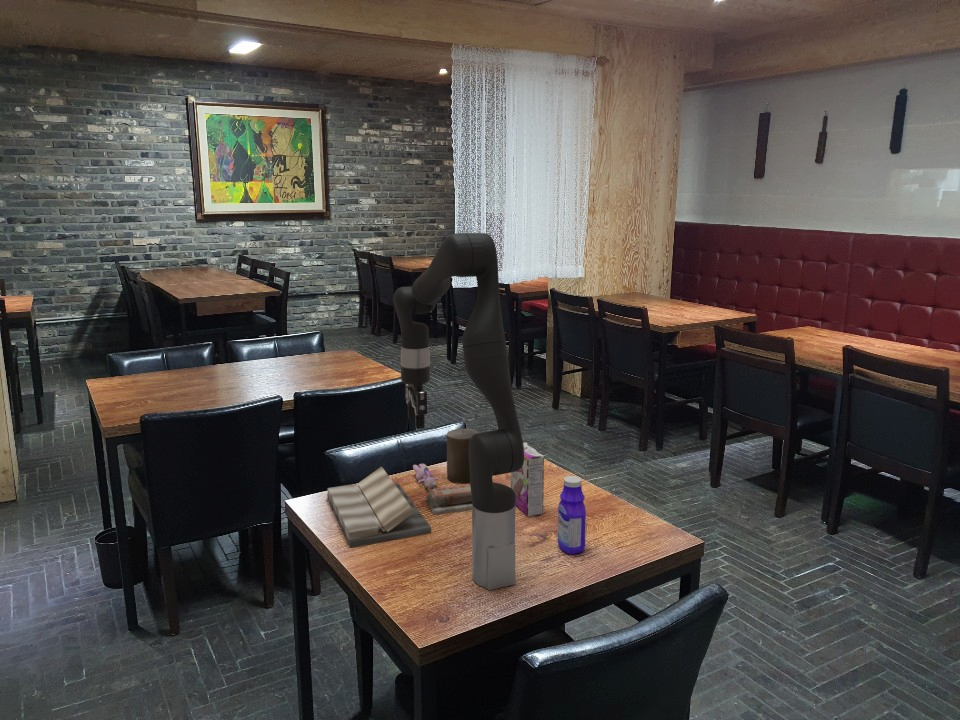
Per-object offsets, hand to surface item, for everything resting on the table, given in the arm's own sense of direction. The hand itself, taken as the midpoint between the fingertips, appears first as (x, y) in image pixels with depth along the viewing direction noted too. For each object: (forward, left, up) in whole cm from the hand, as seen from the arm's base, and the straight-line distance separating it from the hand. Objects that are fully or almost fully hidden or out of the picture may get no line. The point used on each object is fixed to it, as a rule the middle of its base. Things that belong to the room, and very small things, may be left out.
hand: (416, 423), depth 183 cm
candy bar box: (-13, -26, -23) cm, 37 cm away
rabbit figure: (+13, -6, -23) cm, 27 cm away
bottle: (-37, -26, -23) cm, 51 cm away
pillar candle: (+13, -18, -23) cm, 32 cm away
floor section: (-2, +12, -23) cm, 26 cm away
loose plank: (-2, +10, -19) cm, 22 cm away
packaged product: (-4, -11, -24) cm, 26 cm away
